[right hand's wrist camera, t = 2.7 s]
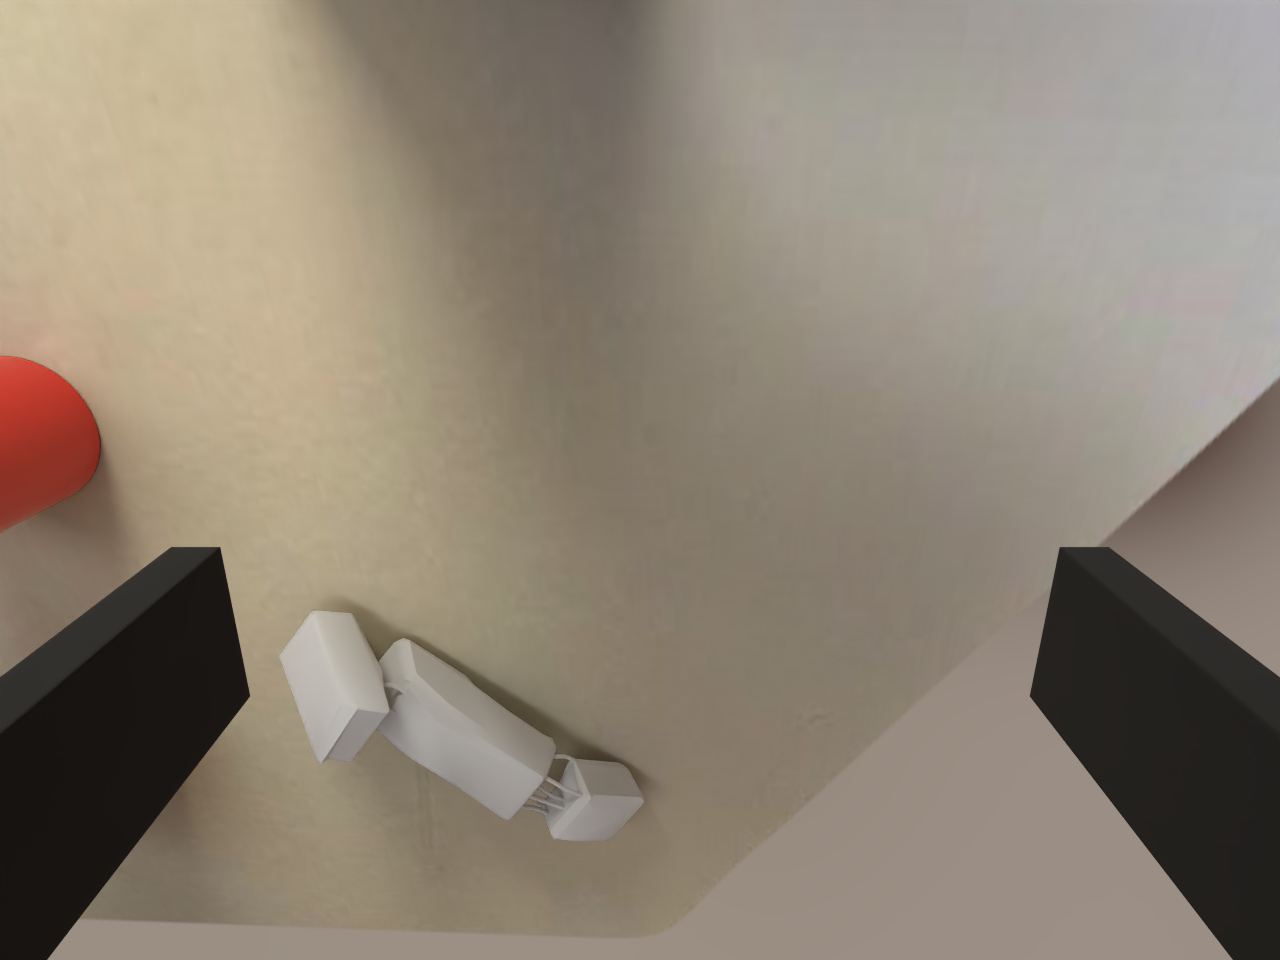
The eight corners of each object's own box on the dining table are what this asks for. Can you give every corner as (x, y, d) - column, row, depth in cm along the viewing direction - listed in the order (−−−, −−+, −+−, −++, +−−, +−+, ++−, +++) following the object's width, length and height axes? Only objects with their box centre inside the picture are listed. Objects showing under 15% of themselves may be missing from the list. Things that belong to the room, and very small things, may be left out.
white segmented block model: (287, 640, 41) (236, 731, 35) (322, 588, 40) (275, 672, 34) (604, 795, 47) (609, 897, 40) (641, 753, 46) (652, 851, 39)
